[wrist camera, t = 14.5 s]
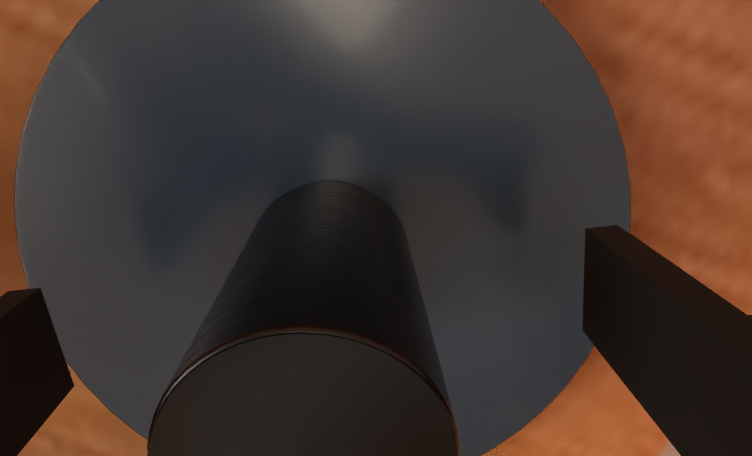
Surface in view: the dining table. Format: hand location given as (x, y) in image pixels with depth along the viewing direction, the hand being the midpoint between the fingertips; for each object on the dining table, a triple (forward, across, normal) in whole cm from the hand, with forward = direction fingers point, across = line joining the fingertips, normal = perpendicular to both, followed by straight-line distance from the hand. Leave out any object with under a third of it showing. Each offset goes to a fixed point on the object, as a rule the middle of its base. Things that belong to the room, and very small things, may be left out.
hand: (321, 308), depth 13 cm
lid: (+4, 0, 0) cm, 4 cm away
